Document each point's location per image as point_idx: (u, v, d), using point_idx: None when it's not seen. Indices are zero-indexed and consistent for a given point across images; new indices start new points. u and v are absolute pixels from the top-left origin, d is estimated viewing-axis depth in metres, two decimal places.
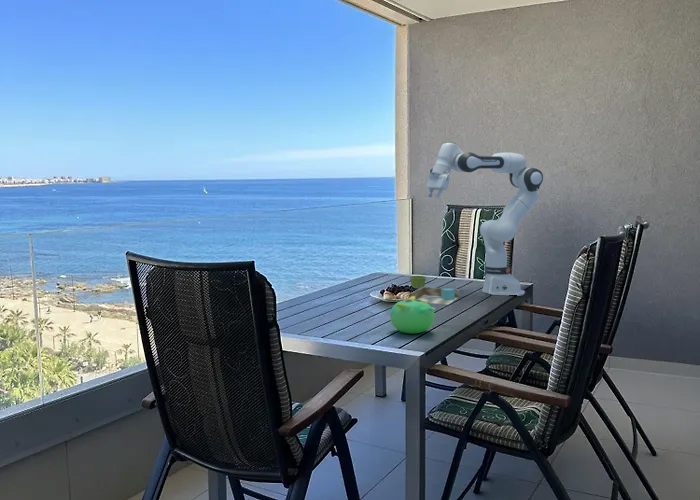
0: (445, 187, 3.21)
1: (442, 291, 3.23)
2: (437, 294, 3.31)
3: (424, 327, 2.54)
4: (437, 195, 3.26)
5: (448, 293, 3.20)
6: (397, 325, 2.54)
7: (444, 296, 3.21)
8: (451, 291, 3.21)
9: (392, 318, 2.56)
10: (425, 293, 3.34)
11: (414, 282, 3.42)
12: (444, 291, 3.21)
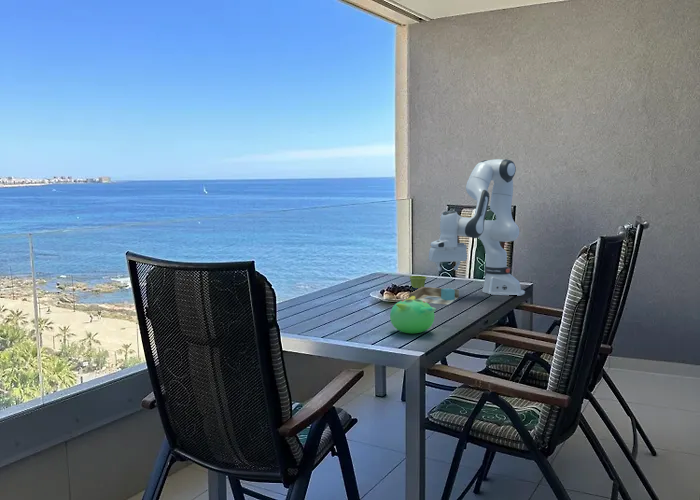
0: None
1: (442, 291, 3.23)
2: (437, 294, 3.31)
3: (424, 327, 2.54)
4: None
5: (448, 293, 3.20)
6: (397, 325, 2.54)
7: (444, 296, 3.21)
8: (451, 291, 3.21)
9: (392, 318, 2.56)
10: (425, 293, 3.34)
11: (414, 282, 3.42)
12: (444, 291, 3.21)
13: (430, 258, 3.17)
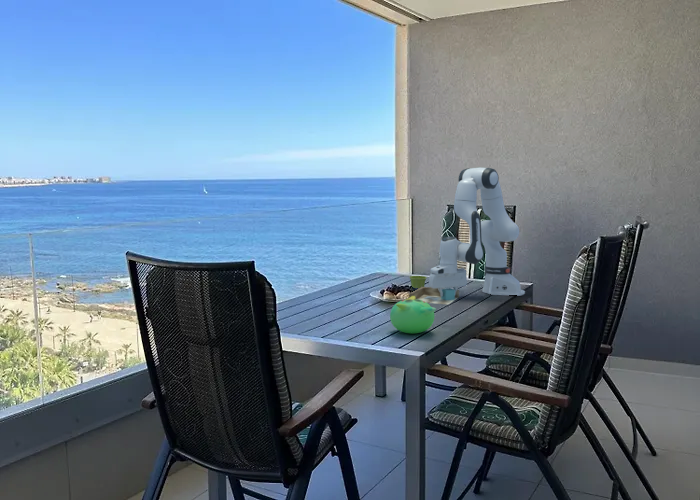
0: None
1: (442, 291, 3.23)
2: (437, 294, 3.31)
3: (424, 327, 2.54)
4: None
5: (448, 293, 3.20)
6: (397, 325, 2.54)
7: (444, 296, 3.21)
8: (451, 291, 3.21)
9: (392, 318, 2.56)
10: (425, 293, 3.34)
11: (414, 282, 3.42)
12: (444, 291, 3.21)
13: (430, 284, 3.19)
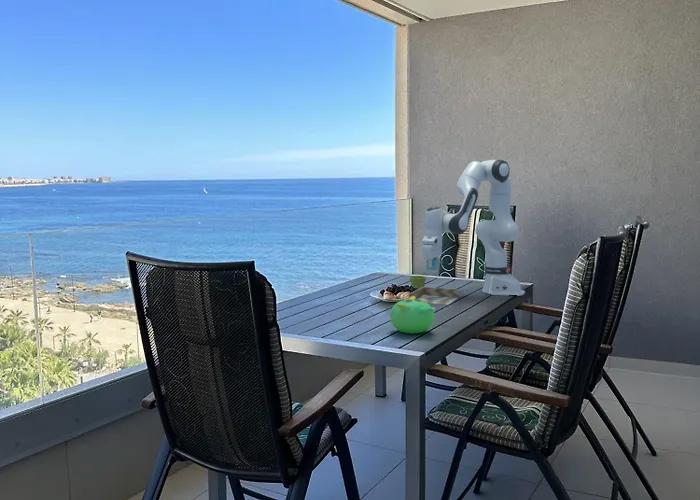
0: None
1: None
2: (437, 294, 3.31)
3: (424, 327, 2.54)
4: None
5: (436, 263, 3.21)
6: (397, 325, 2.54)
7: (433, 266, 3.21)
8: (437, 261, 3.23)
9: (392, 318, 2.56)
10: (425, 293, 3.34)
11: (414, 282, 3.42)
12: (433, 261, 3.21)
13: (426, 255, 3.14)
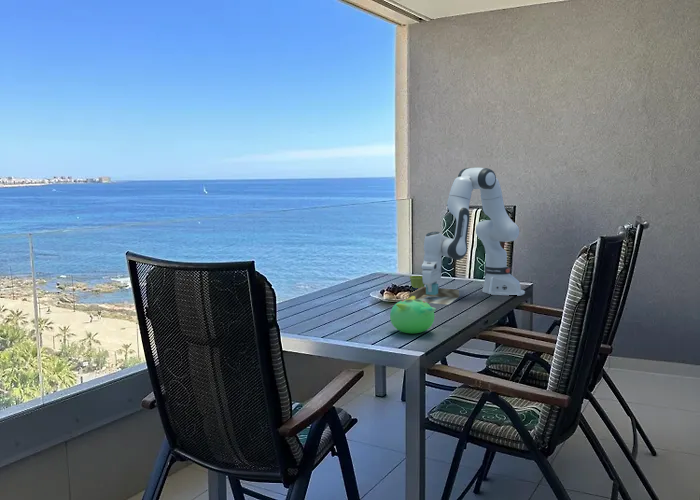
0: None
1: None
2: (437, 294, 3.31)
3: (424, 327, 2.54)
4: None
5: (436, 287, 3.23)
6: (397, 325, 2.54)
7: (432, 291, 3.22)
8: (437, 285, 3.24)
9: (392, 318, 2.56)
10: (425, 293, 3.34)
11: (414, 282, 3.42)
12: (432, 286, 3.22)
13: (426, 281, 3.15)
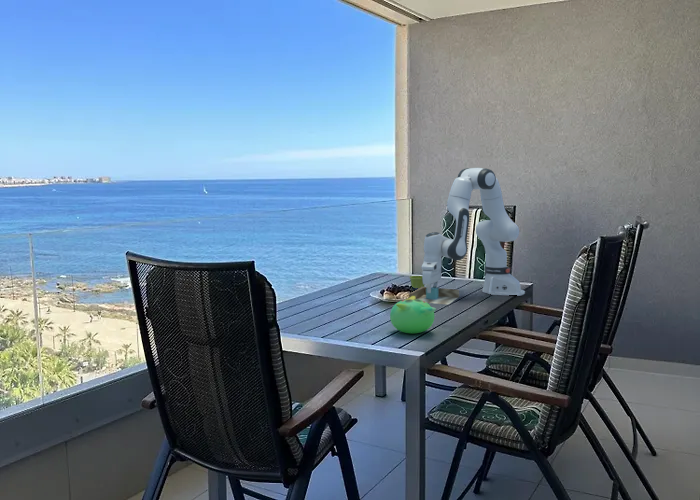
0: None
1: None
2: None
3: (424, 327, 2.54)
4: None
5: (436, 292, 3.23)
6: (397, 325, 2.54)
7: (432, 295, 3.23)
8: (437, 289, 3.25)
9: (392, 318, 2.56)
10: (425, 293, 3.34)
11: (414, 281, 3.42)
12: (432, 290, 3.23)
13: (426, 281, 3.15)
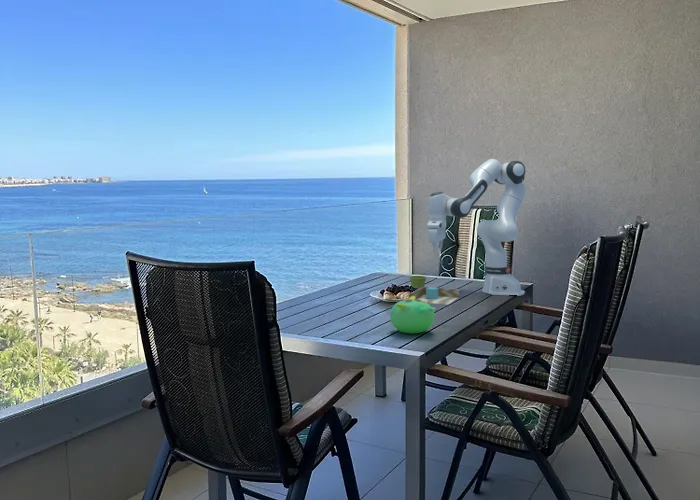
0: None
1: (428, 291, 3.24)
2: None
3: (424, 327, 2.54)
4: None
5: (436, 292, 3.23)
6: (397, 325, 2.54)
7: (432, 295, 3.23)
8: (437, 289, 3.25)
9: (392, 318, 2.56)
10: (425, 293, 3.34)
11: (414, 281, 3.42)
12: (432, 290, 3.23)
13: (432, 239, 3.26)
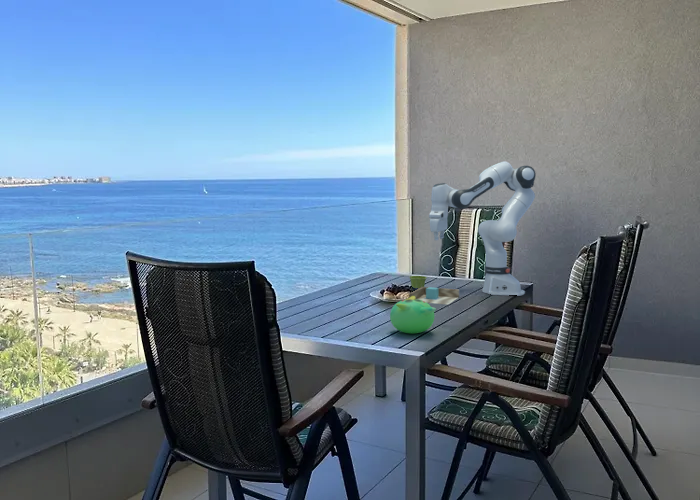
0: None
1: (428, 291, 3.24)
2: None
3: (424, 327, 2.54)
4: None
5: (436, 292, 3.23)
6: (397, 325, 2.54)
7: (432, 295, 3.23)
8: (437, 289, 3.25)
9: (392, 318, 2.56)
10: (425, 293, 3.34)
11: (414, 282, 3.42)
12: (432, 290, 3.23)
13: (433, 228, 3.33)
